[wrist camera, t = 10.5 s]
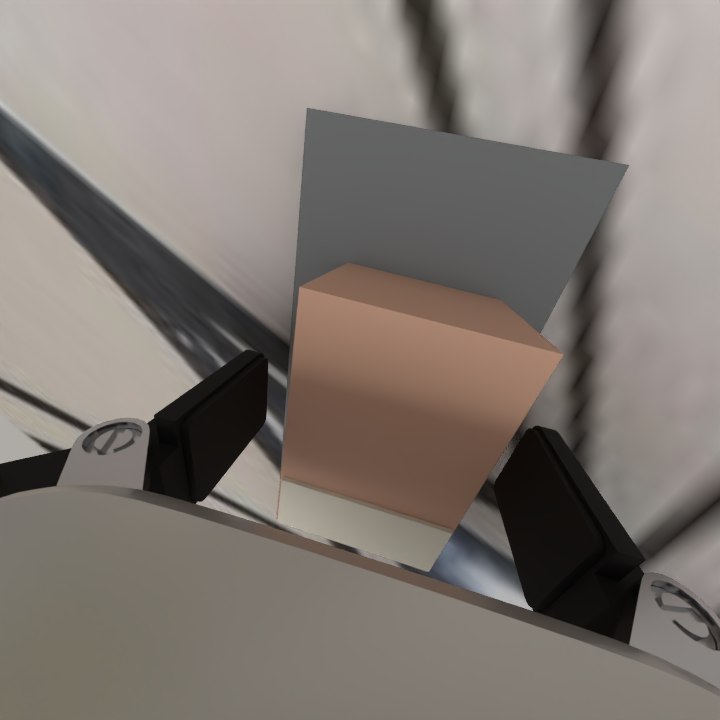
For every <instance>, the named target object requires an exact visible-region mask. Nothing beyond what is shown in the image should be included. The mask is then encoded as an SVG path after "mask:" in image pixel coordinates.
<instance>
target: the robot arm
mask: <svg viewBox="0 0 720 720" xmlns="http://www.w3.org/2000/svg"><path fill="white" fill-rule="evenodd" d="M267 383H268V360H267V359H266V358H264V355H263V354H262V353H259V352H255V351H251V350H245V351H244V352H243V353H241V354H240V355H238V356H237V357H235V358H234V359H233V360H231V361H230V362H228V363H227V364H226V365H224V366H223V367H221V368H220V369H219V370H217V371H216V372H214V373H213V374H211V375H210V376H209V377H207V378H206V379H204V380H203V381H202V382H200V383H199V384H197V385H196V386H195V387H193V388H192V389H190V390H189V391H187V392H186V393H185V394H183V395H182V396H180V397H179V398H178V399H176V400H175V401H173V402H172V403H171V404H169V405H168V406H166V407H165V408H164V409H162V410H161V411H159V412H158V413H156V414H155V415H154V419H153V420H151V421H150V422H148V423H146V422H145V421H142V420H140V419H135V418H119V419H114V420H110V421H106V422H103V423H101V424H98V425H95V426H94V427H92V428H90V429H88V430H86V431H85V432H84V433H83V434H81V435H80V436H79V437H78V438H77V439H76V441H75V442H74V444H73V446H72V448H70V449H66V450H61V451H57V452H52V453H47V454H43V455H39V456H34V457H30V458H25V459H20V460H15V461H11V462H7V463H2V464H0V720H720V619H719V618H718V617H717V615H716V614H715V613H714V612H713V611H712V610H711V609H710V608H709V607H708V606H707V605H706V604H705V603H704V602H703V601H702V600H701V599H699V598H698V597H697V596H696V595H694V594H693V593H692V592H691V591H690V590H688V589H687V588H685V587H684V586H682V585H681V584H679V583H678V582H676V581H675V580H673V579H671V578H669V577H666V576H664V575H662V574H658V573H654V572H650V573H645V574H644V573H643V571H642V570H641V568H640V567H639V565H640V564H641V563H642V562H644V561H645V558H644V557H643V555H642V554H641V552H640V551H639V550H638V548H637V547H636V545H635V544H634V542H633V541H632V539H631V538H630V536H629V535H628V534H627V532H626V531H625V529H624V528H623V526H622V525H621V523H620V522H619V520H618V519H617V517H616V516H615V515H614V513H613V512H612V510H611V509H610V507H609V506H608V504H607V503H606V501H605V500H604V499H603V497H602V496H601V494H600V493H599V491H598V490H597V488H596V487H595V485H594V484H593V482H592V481H591V480H590V478H589V477H588V475H587V474H586V472H585V471H584V469H583V468H582V466H581V465H580V463H579V462H578V461H577V459H576V458H575V456H574V455H573V453H572V452H571V450H570V449H569V447H568V446H567V445H566V443H565V442H564V440H563V439H562V437H561V436H560V434H559V433H558V432H557V431H555V430H552V429H548V428H544V427H541V426H535V427H533V428H532V429H531V428H530V429H528V430H527V431H526V432H525V434H524V435H523V437H522V439H521V440H520V442H519V444H518V445H517V447H516V448H515V450H514V452H513V453H512V455H511V457H510V458H509V460H508V461H507V463H506V465H505V466H504V468H503V470H502V471H501V473H500V474H499V476H498V478H497V479H496V481H495V484H494V492H495V495H496V499H497V502H498V506H499V509H500V513H501V516H502V520H503V523H504V527H505V530H506V533H507V537H508V540H509V544H510V547H511V551H512V554H513V558H514V561H515V565H516V568H517V571H518V575H519V578H520V582H521V585H522V589H523V592H524V596H525V599H526V602H527V603H528V605H529V606H530V607H531V608H533V611H531V610H527V609H524V608H521V607H518V606H515V605H512V604H509V603H506V602H503V601H500V600H497V599H494V598H491V597H488V596H484V595H481V594H478V593H475V592H472V591H469V590H466V589H463V588H460V587H457V586H454V585H451V584H448V583H445V582H442V581H438V580H435V579H432V578H429V577H426V576H423V575H420V574H417V573H414V572H410V571H407V570H404V569H401V568H398V567H395V566H392V565H389V564H385V563H382V562H379V561H376V560H373V559H370V558H367V557H364V556H360V555H357V554H354V553H351V552H348V551H345V550H342V549H339V548H335V547H332V546H329V545H326V544H323V543H320V542H317V541H313V540H310V539H307V538H304V537H301V536H297V535H294V534H291V533H288V532H285V531H281V530H278V529H275V528H272V527H269V526H266V525H262V524H259V523H256V522H253V521H250V520H246V519H243V518H240V517H237V516H234V515H230V514H227V513H224V512H221V511H217V510H214V509H210V508H207V507H203V506H200V505H197V504H196V503H197V501H199V502H201V501H203V500H204V499H205V498H206V497H207V496H208V495H209V493H210V492H211V491H212V489H213V488H214V487H215V486H216V484H217V483H218V482H219V481H220V479H221V478H222V477H223V475H224V474H225V473H226V472H227V470H228V469H229V468H230V467H231V465H232V464H233V463H234V461H235V460H236V459H237V458H238V456H239V455H240V454H241V453H242V451H243V450H244V449H245V447H246V446H247V445H248V444H249V442H250V441H251V440H252V439H253V437H254V436H255V435H256V433H257V432H258V431H259V430H260V428H261V427H262V426H263V424H264V422H265V420H266V413H267Z"/></svg>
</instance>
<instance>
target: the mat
mask: <svg viewBox="0 0 720 720" xmlns="http://www.w3.org/2000/svg"><path fill="white" fill-rule="evenodd" d="M628 167H629V165H625V164H619V163H614V162H608V161H603V160H597V159H591V158H586V157H580V156H574V155H569V154H563V153H557V152H552V151H546V150H541V149H535V148H529V147H524V146H518V145H512V144H507V143H501V142H496V141H490V140H484V139H479V138H473V137H467V136H462V135H456V134H451V133H445V132H439V131H434V130H428V129H422V128H417V127H411V126H406V125H400V124H394V123H389V122H383V121H377V120H372V119H366V118H361V117H355V116H349V115H344V114H338V113H332V112H327V111H321V110H316V109H310V108H307V115H306V129H305V142H304V156H303V170H302V184H301V198H300V211H299V225H298V239H297V253H296V267H295V281H294V294H293V308H292V322H291V336H290V350H289V363H288V377H287V391H286V405H285V419H284V433H283V446H282V458H283V448H284V438H285V428H286V418H287V408H288V397H289V387H290V377H291V367H292V357H293V347H294V337H295V327H296V317H297V306H298V296H299V287H300V286H302V285H304V284H306V283H308V282H310V281H312V280H314V279H316V278H318V277H320V276H322V275H324V274H326V273H328V272H330V271H332V270H334V269H336V268H338V267H340V266H342V265H344V264H347V263H352V264H356V265H360V266H364V267H368V268H372V269H376V270H380V271H384V272H388V273H393V274H397V275H401V276H405V277H409V278H413V279H417V280H421V281H425V282H429V283H433V284H437V285H441V286H445V287H450V288H454V289H458V290H462V291H466V292H470V293H474V294H478V295H482V296H486V297H490V298H494V299H498V300H502V301H503V302H504V303H505V304H506V305H507V306H508V307H510V308H511V309H512V310H513V311H514V312H515V313H517V314H518V315H519V316H520V317H521V318H522V319H523V320H525V321H526V322H527V323H528V324H529V325H530V326H531V327H533V328H534V329H535V330H536V331H537V332H538V333H541V331H542V329H543V327H544V325H545V323H546V321H547V320H548V318H549V316H550V314H551V312H552V310H553V308H554V306H555V304H556V303H557V301H558V299H559V297H560V295H561V293H562V291H563V289H564V288H565V286H566V284H567V282H568V280H569V278H570V276H571V274H572V272H573V271H574V269H575V267H576V265H577V263H578V261H579V259H580V257H581V255H582V254H583V252H584V250H585V248H586V246H587V244H588V242H589V240H590V238H591V237H592V235H593V233H594V231H595V229H596V227H597V225H598V223H599V221H600V220H601V218H602V216H603V214H604V212H605V210H606V208H607V206H608V204H609V203H610V201H611V199H612V197H613V195H614V193H615V191H616V189H617V187H618V186H619V184H620V182H621V180H622V178H623V176H624V174H625V172H626V170H627V169H628ZM281 468H282V460H281ZM280 478H281V474H280Z"/></svg>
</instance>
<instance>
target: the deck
mask: <svg viewBox="0 0 720 720" xmlns="http://www.w3.org/2000/svg"><path fill="white" fill-rule="evenodd" d="M563 355H564V354H563V353H561V352H560V351H559V350H558V349H557V348H556V347H554V346H553V345H552V344H551V343H550V342H549V341H548V340H546V339H545V338H544V337H543V336H542V335H541V334H540V333H538V332H537V331H536V330H535V329H534V328H533V327H531V326H530V325H529V324H528V323H527V322H526V321H525V320H523V319H522V318H521V317H520V316H519V315H518V314H517V313H515V312H514V311H513V310H512V309H511V308H510V307H508V306H507V305H506V304H505V303H504V302H503V301H502V300H498V299H494V298H490V297H486V296H482V295H478V294H474V293H470V292H466V291H462V290H458V289H454V288H450V287H445V286H441V285H437V284H433V283H429V282H425V281H421V280H417V279H413V278H409V277H405V276H401V275H397V274H393V273H388V272H384V271H380V270H376V269H372V268H368V267H364V266H360V265H356V264H352V263H347V264H344V265H342V266H340V267H338V268H336V269H334V270H332V271H330V272H328V273H326V274H324V275H322V276H320V277H318V278H316V279H314V280H312V281H310V282H308V283H306V284H304V285H302V286H300V287H299V296H298V306H297V317H296V327H295V337H294V347H293V357H292V367H291V377H290V387H289V397H288V408H287V418H286V428H285V438H284V448H283V458H282V468H281V478H280V489H279V499H278V509H277V522H278V523H281V524H284V525H287V526H290V527H293V528H296V529H299V530H302V531H305V532H308V533H311V534H315V535H318V536H321V537H324V538H327V539H330V540H333V541H336V542H339V543H342V544H345V545H348V546H351V547H354V548H357V549H360V550H363V551H366V552H369V553H372V554H375V555H378V556H381V557H384V558H387V559H390V560H394V561H397V562H400V563H403V564H406V565H409V566H412V567H415V568H418V569H421V570H424V571H427V572H429V571H430V570H431V568H432V566H433V565H434V563H435V562H436V560H437V558H438V557H439V555H440V553H441V552H442V550H443V549H444V547H445V545H446V544H447V542H448V541H449V539H450V537H451V536H452V534H453V532H454V531H455V529H456V528H457V526H458V524H459V523H460V521H461V520H462V518H463V516H464V515H465V513H466V512H467V510H468V508H469V507H470V505H471V503H472V502H473V500H474V499H475V497H476V495H477V494H478V492H479V491H480V489H481V487H482V486H483V484H484V482H485V481H486V479H487V478H488V476H489V474H490V473H491V471H492V470H493V468H494V466H495V465H496V463H497V462H498V460H499V458H500V457H501V455H502V453H503V452H504V450H505V449H506V447H507V445H508V444H509V442H510V441H511V439H512V437H513V436H514V434H515V432H516V431H517V429H518V428H519V426H520V424H521V423H522V421H523V420H524V418H525V416H526V415H527V413H528V412H529V410H530V408H531V407H532V405H533V403H534V402H535V400H536V399H537V397H538V395H539V394H540V392H541V391H542V389H543V387H544V386H545V384H546V382H547V381H548V379H549V378H550V376H551V374H552V373H553V371H554V370H555V368H556V366H557V365H558V363H559V362H560V360H561V358H562V357H563Z"/></svg>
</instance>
